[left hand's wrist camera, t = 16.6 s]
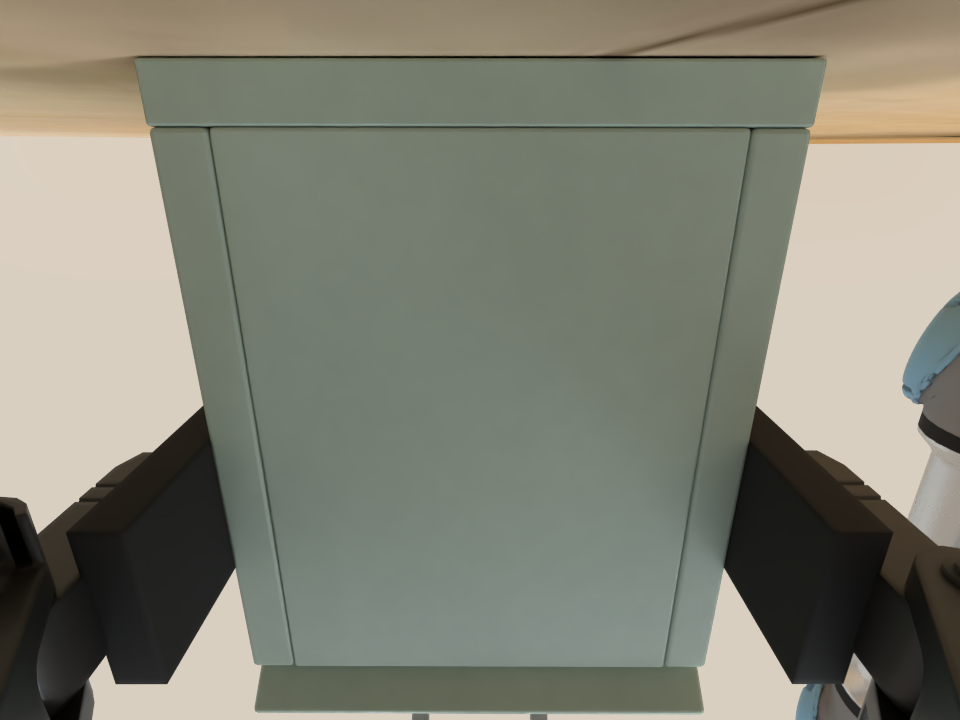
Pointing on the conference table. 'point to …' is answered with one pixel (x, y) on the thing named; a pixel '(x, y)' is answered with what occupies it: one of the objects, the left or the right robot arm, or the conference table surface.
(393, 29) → the conference table surface
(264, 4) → the conference table surface
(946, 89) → the conference table surface
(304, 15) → the conference table surface
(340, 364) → the chest
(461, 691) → the lid
